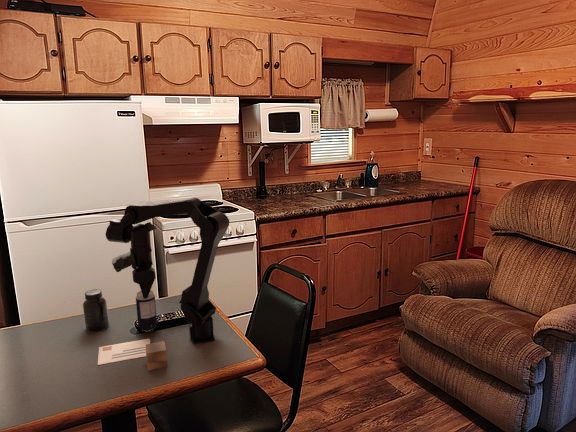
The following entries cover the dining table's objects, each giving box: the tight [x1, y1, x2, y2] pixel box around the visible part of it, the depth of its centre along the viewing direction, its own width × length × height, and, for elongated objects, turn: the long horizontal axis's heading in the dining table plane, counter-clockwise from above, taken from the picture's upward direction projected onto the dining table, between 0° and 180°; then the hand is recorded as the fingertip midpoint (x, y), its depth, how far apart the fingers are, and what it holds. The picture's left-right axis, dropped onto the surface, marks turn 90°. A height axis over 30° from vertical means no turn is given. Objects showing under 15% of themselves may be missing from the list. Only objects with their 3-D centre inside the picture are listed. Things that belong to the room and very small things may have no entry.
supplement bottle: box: [82, 288, 110, 332], centre depth 140 cm, size 7×7×12 cm
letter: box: [97, 338, 151, 366], centre depth 127 cm, size 14×10×1 cm
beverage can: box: [135, 289, 158, 333], centre depth 139 cm, size 6×6×12 cm
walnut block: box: [145, 341, 168, 371], centre depth 120 cm, size 5×5×5 cm
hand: (144, 292), depth 137 cm, fingers open, 9 cm apart
